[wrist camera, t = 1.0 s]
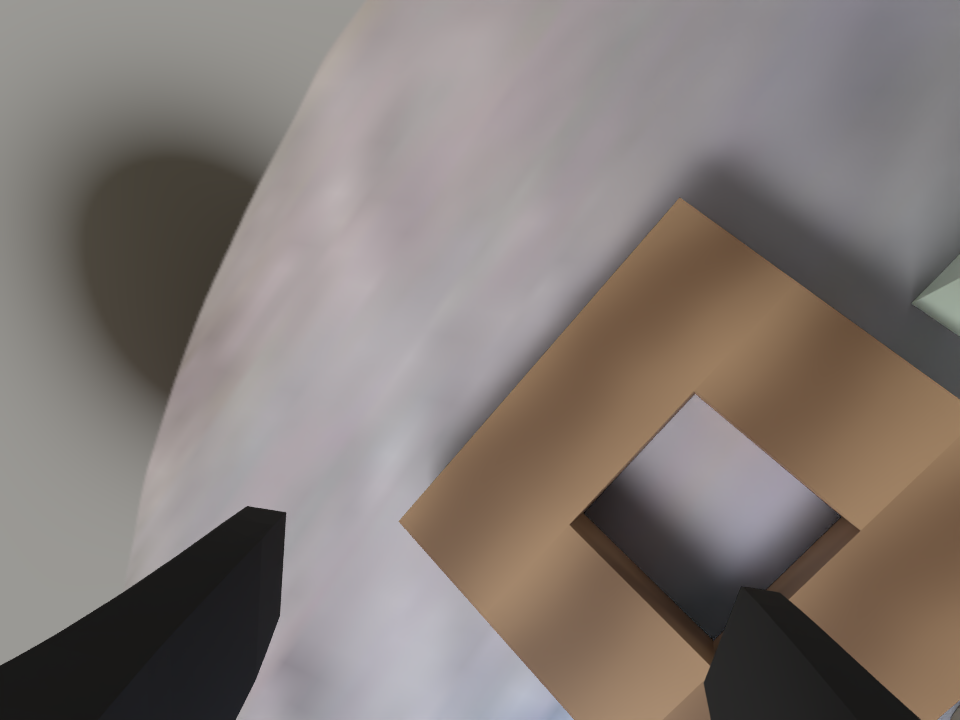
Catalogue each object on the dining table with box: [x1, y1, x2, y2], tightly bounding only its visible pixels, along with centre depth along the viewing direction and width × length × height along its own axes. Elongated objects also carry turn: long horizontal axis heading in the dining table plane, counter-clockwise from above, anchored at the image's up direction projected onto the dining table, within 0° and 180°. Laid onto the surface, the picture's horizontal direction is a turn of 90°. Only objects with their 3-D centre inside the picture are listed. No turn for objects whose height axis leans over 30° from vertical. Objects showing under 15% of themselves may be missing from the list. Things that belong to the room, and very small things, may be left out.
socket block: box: [399, 198, 960, 720], centre depth 19 cm, size 14×14×2 cm
